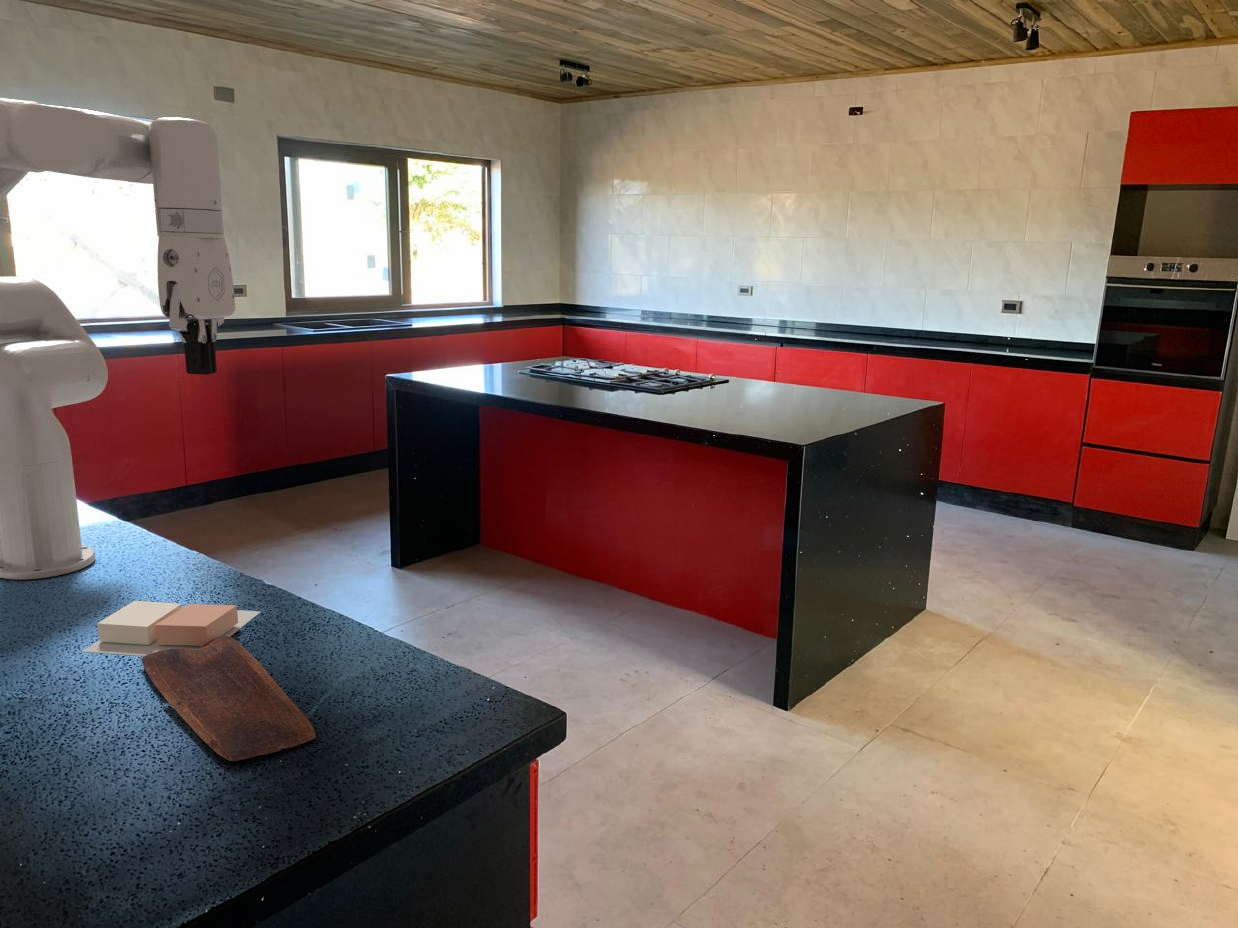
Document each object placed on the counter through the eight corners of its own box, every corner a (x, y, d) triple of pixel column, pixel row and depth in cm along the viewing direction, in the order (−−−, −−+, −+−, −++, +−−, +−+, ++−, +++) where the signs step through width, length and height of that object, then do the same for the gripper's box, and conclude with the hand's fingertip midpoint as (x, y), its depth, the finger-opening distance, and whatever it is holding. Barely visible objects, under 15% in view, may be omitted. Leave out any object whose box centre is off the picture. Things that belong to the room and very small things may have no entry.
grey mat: (81, 654, 101) (81, 651, 101) (155, 607, 115) (155, 604, 115) (200, 663, 100) (200, 659, 100) (261, 614, 114) (260, 611, 114)
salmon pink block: (191, 622, 110) (157, 644, 103) (189, 603, 109) (155, 624, 102) (238, 624, 109) (207, 646, 102) (236, 605, 109) (205, 626, 102)
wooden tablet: (325, 725, 85) (213, 749, 78) (323, 748, 85) (212, 772, 79) (232, 630, 104) (136, 642, 98) (231, 649, 105) (135, 662, 98)
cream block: (136, 619, 110) (99, 642, 104) (134, 600, 110) (97, 623, 103) (183, 622, 110) (149, 646, 103) (181, 603, 109) (147, 626, 102)
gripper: (185, 224, 104) (198, 382, 108) (249, 228, 119) (258, 367, 123) (123, 222, 105) (138, 380, 109) (194, 226, 119) (205, 365, 123)
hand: (201, 373), depth 116 cm, fingers closed
